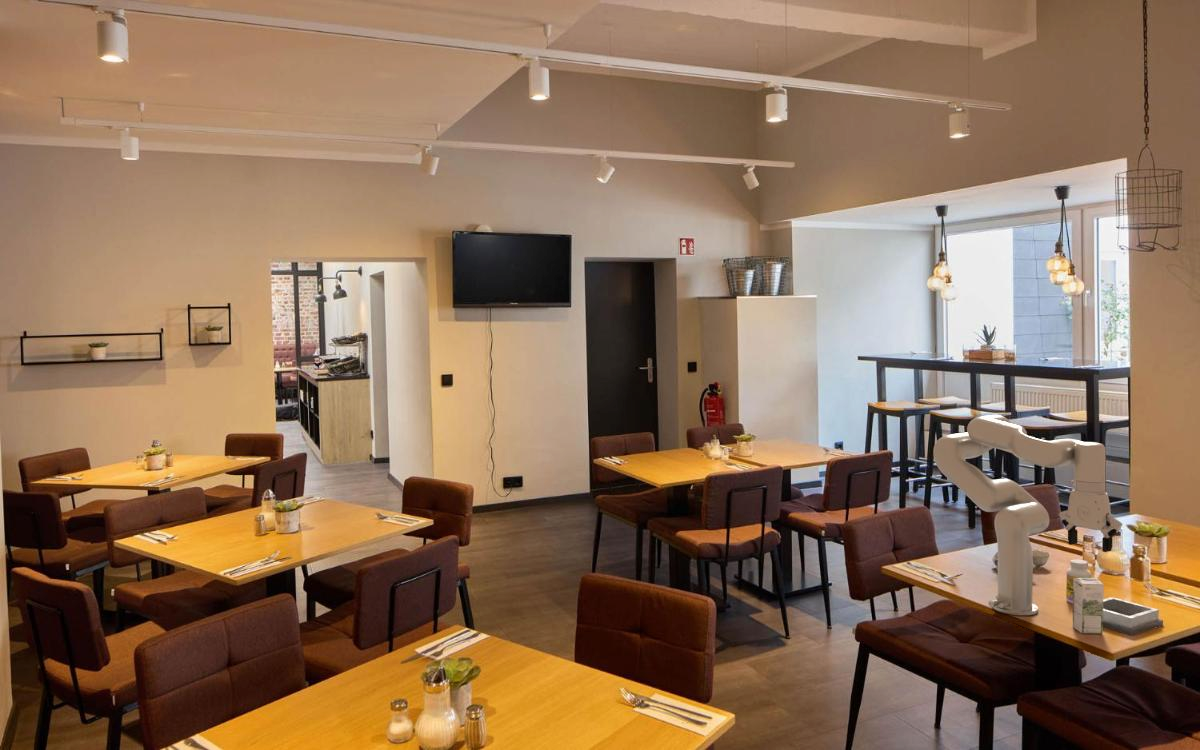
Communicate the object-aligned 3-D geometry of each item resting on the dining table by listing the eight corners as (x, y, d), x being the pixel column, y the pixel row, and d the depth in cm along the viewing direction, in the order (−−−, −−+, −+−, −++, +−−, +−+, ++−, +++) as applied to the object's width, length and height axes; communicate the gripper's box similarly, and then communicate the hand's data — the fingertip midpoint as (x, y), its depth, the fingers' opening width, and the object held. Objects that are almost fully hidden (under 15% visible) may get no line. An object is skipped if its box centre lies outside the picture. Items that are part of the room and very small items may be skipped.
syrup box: (1093, 627, 243) (1093, 576, 242) (1103, 634, 237) (1104, 583, 236) (1072, 626, 243) (1072, 576, 242) (1081, 634, 237) (1082, 583, 236)
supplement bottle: (1062, 598, 267) (1062, 558, 267) (1084, 598, 267) (1084, 558, 266) (1072, 605, 261) (1073, 564, 260) (1095, 605, 260) (1095, 564, 260)
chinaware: (1034, 590, 282) (1040, 541, 280) (981, 576, 292) (986, 529, 290) (1050, 569, 304) (1056, 524, 302) (1000, 558, 314) (1005, 514, 312)
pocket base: (1132, 635, 236) (1132, 619, 235) (1079, 619, 249) (1079, 604, 248) (1162, 625, 243) (1163, 609, 242) (1110, 610, 256) (1110, 595, 256)
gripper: (1052, 483, 243) (1052, 543, 244) (1112, 493, 228) (1112, 556, 229) (1068, 481, 247) (1068, 539, 248) (1129, 490, 232) (1129, 552, 232)
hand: (1089, 547), depth 238 cm, fingers open, 9 cm apart
